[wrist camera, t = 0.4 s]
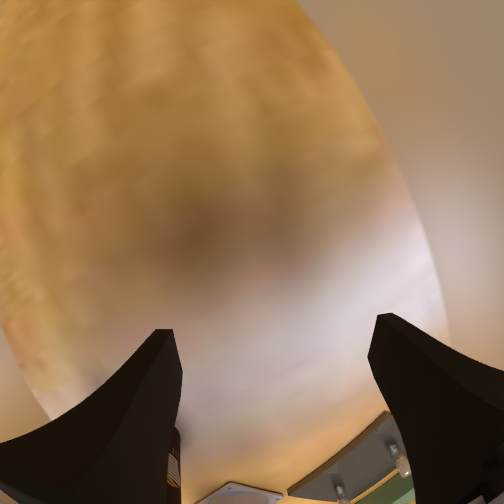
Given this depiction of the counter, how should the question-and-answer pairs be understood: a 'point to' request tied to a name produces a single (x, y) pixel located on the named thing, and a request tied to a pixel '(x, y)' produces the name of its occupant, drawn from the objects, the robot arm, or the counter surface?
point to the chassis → (357, 465)
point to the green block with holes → (392, 492)
